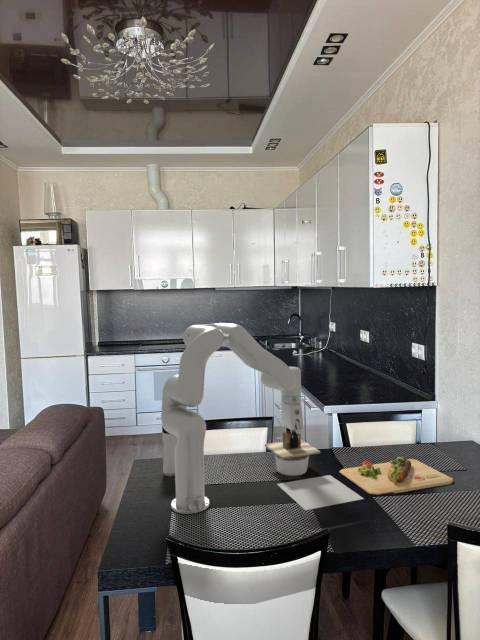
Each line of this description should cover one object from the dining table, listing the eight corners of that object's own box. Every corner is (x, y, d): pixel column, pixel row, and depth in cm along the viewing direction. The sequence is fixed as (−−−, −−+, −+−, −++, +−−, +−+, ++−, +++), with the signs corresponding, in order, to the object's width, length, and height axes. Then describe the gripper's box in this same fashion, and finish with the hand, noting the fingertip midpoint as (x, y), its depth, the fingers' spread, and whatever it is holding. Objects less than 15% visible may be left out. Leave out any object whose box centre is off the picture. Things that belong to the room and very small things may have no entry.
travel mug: (181, 470, 189) (180, 420, 188) (177, 476, 183) (176, 425, 181) (165, 470, 190) (164, 420, 188) (161, 476, 183) (160, 425, 182)
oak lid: (320, 453, 181) (320, 435, 180) (281, 459, 175) (281, 440, 175) (300, 441, 196) (300, 424, 195) (264, 445, 190) (264, 429, 190)
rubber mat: (364, 500, 160) (364, 498, 160) (305, 511, 152) (305, 510, 152) (330, 476, 181) (330, 475, 180) (276, 485, 173) (276, 484, 173)
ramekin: (307, 479, 178) (307, 461, 178) (272, 477, 181) (272, 459, 181) (310, 466, 191) (309, 449, 191) (277, 464, 194) (277, 447, 194)
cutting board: (372, 499, 162) (372, 477, 162) (337, 474, 185) (337, 455, 184) (455, 484, 173) (456, 464, 173) (413, 462, 195) (413, 444, 195)
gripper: (310, 402, 178) (310, 451, 179) (290, 393, 193) (290, 438, 195) (291, 404, 175) (292, 453, 176) (273, 395, 191) (274, 440, 192)
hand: (291, 445), depth 185 cm, fingers closed on oak lid, 3 cm apart
